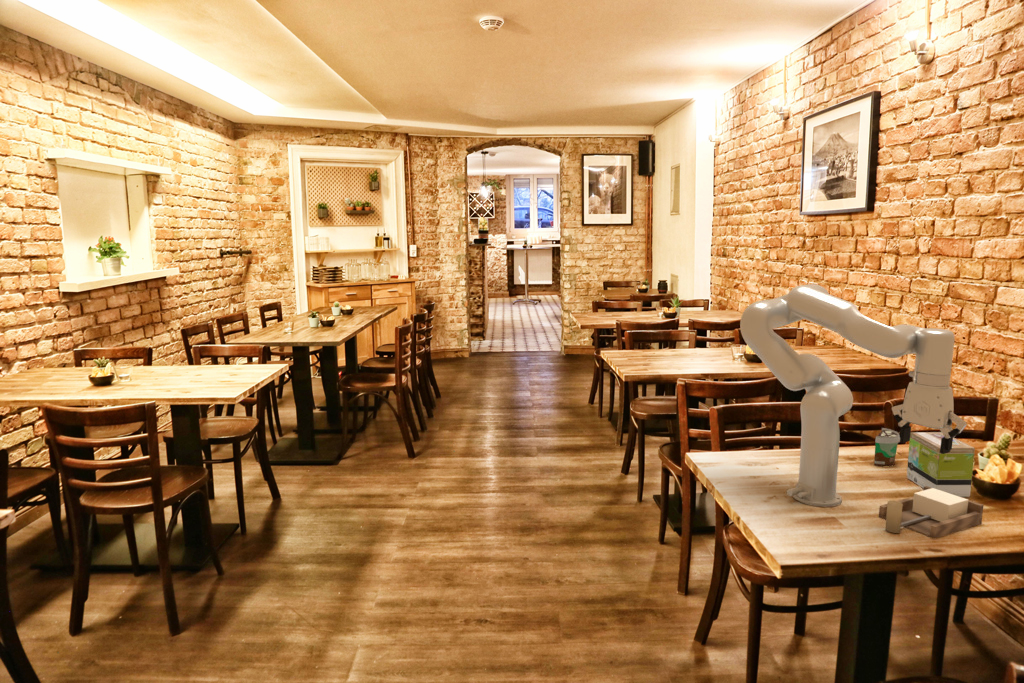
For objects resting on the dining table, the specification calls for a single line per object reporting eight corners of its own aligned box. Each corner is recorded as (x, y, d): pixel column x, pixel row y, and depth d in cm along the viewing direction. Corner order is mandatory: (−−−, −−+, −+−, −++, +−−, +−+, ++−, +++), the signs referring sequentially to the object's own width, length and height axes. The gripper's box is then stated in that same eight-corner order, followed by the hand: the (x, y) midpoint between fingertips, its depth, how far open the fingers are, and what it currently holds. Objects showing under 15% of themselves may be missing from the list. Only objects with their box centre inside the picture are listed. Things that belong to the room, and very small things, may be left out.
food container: (895, 470, 206) (898, 439, 205) (873, 466, 210) (875, 436, 208) (901, 460, 216) (903, 430, 214) (879, 456, 219) (882, 427, 218)
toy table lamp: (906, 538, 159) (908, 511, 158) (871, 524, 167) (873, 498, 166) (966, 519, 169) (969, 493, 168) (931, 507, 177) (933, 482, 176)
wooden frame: (934, 538, 159) (936, 519, 158) (878, 516, 172) (880, 498, 171) (981, 523, 168) (983, 504, 167) (924, 503, 180) (926, 486, 180)
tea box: (904, 478, 200) (909, 430, 197) (938, 478, 199) (943, 431, 197) (934, 497, 185) (939, 446, 182) (971, 498, 184) (976, 446, 182)
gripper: (887, 374, 167) (881, 440, 169) (961, 388, 152) (953, 460, 155) (904, 371, 170) (898, 435, 173) (978, 384, 155) (970, 454, 158)
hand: (924, 447), depth 164 cm, fingers open, 9 cm apart
